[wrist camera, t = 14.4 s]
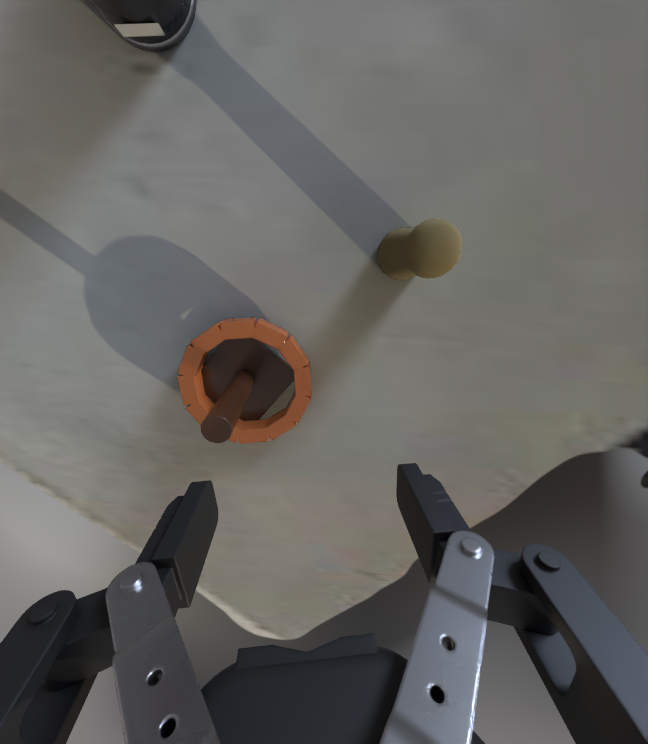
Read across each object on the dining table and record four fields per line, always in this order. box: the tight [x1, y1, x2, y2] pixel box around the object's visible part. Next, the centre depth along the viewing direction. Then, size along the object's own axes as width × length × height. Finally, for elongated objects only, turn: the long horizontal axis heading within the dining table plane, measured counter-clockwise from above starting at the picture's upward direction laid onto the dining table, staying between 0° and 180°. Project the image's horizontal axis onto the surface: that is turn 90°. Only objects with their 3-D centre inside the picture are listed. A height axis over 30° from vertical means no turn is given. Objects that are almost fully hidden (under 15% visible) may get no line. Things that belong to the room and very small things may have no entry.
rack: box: [201, 338, 294, 443], centre depth 34 cm, size 10×10×14 cm
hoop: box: [177, 317, 312, 443], centre depth 38 cm, size 16×16×3 cm
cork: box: [378, 218, 462, 280], centre depth 32 cm, size 6×6×11 cm
